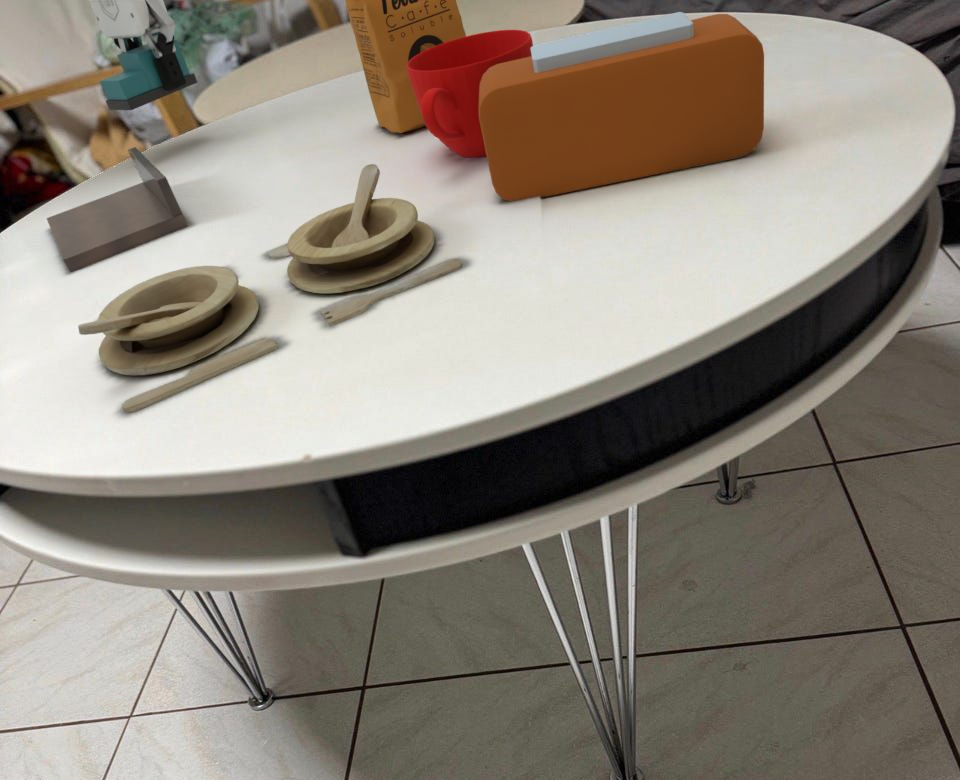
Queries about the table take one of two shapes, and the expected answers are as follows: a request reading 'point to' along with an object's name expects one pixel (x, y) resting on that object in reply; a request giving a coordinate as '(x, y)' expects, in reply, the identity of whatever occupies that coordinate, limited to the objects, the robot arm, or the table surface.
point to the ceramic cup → (461, 84)
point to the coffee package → (399, 50)
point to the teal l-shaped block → (140, 79)
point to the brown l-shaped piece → (118, 219)
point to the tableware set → (231, 308)
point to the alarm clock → (622, 105)
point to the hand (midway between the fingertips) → (162, 86)
